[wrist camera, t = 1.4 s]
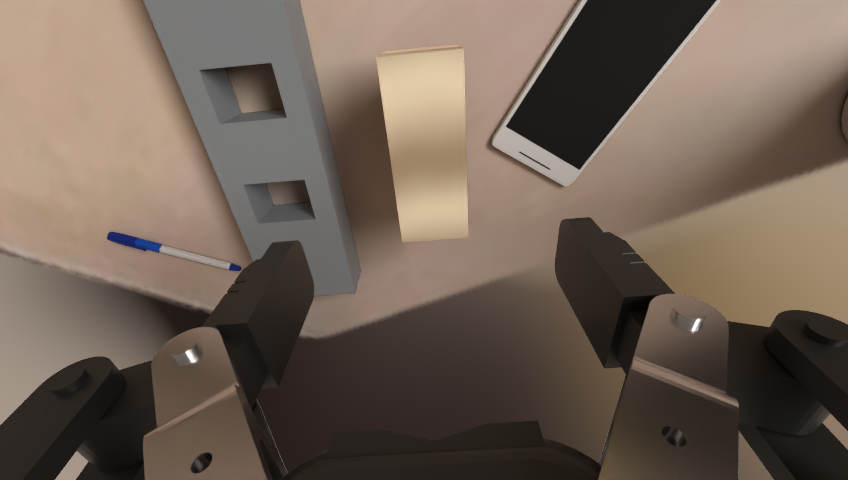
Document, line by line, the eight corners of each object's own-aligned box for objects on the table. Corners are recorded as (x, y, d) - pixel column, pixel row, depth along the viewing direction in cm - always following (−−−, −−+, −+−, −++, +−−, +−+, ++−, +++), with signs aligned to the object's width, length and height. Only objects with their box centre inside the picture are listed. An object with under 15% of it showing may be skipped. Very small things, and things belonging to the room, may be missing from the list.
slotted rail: (147, -78, 19) (103, -94, 16) (278, -94, 18) (254, -112, 16) (281, 276, 31) (268, 299, 29) (360, 271, 31) (355, 293, 28)
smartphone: (742, -38, 20) (755, -40, 19) (564, 184, 27) (568, 189, 26) (653, -120, 18) (663, -127, 17) (487, 140, 25) (489, 144, 25)
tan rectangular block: (388, 48, 22) (376, 57, 16) (452, 41, 22) (463, 48, 16) (406, 194, 27) (402, 242, 21) (458, 190, 27) (468, 237, 21)
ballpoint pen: (113, 237, 30) (103, 244, 29) (111, 229, 29) (102, 235, 28) (242, 269, 31) (236, 275, 30) (242, 261, 31) (237, 268, 30)
